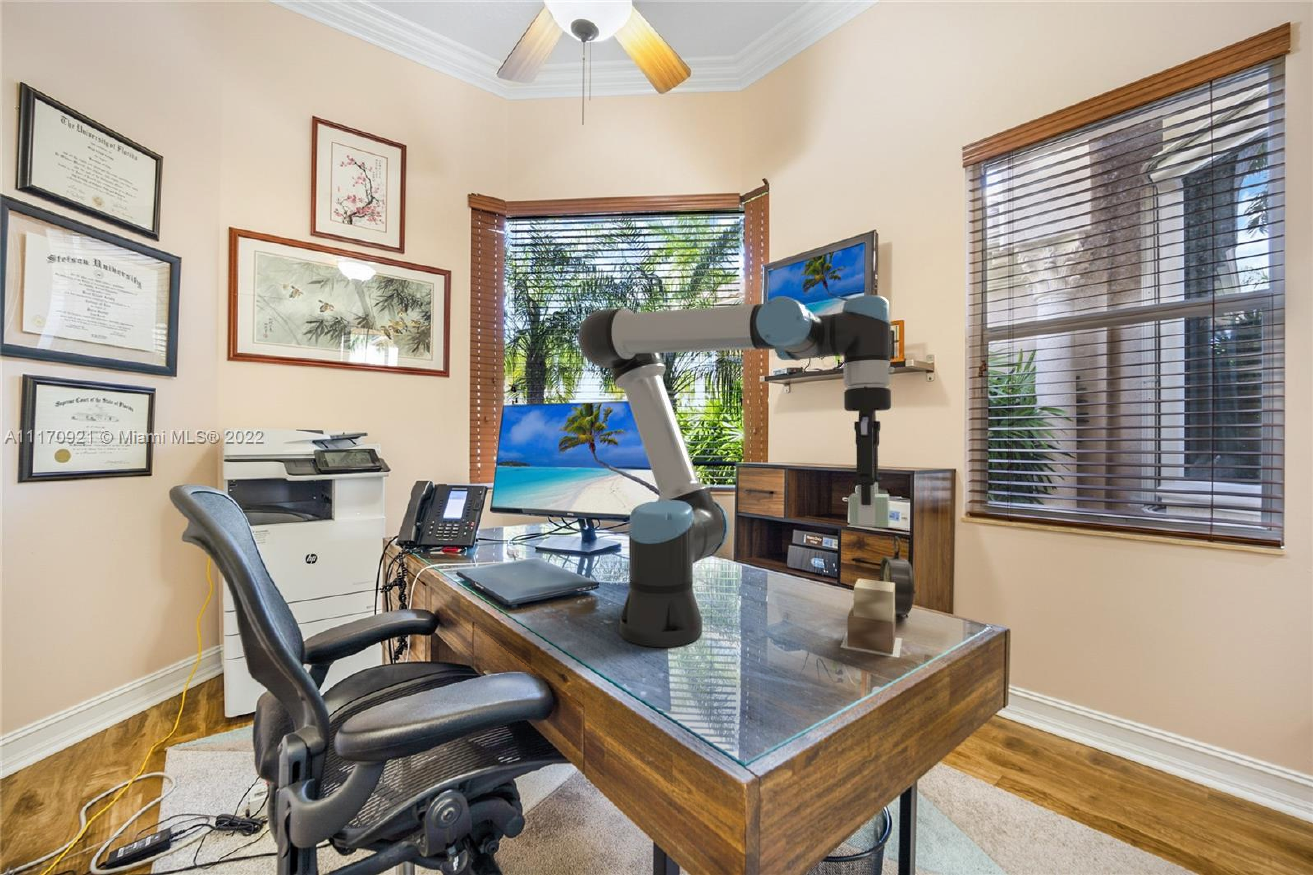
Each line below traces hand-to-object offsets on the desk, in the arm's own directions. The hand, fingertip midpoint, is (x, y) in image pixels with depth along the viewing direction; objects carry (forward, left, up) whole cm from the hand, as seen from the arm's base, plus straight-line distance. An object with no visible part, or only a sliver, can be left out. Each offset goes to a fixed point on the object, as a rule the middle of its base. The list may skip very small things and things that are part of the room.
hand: (868, 521), depth 92 cm
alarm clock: (+4, +16, -21) cm, 27 cm away
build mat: (+1, -1, -21) cm, 21 cm away
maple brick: (+1, -1, -16) cm, 16 cm away
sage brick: (0, 0, 0) cm, 1 cm away
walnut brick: (+1, -1, -21) cm, 21 cm away
